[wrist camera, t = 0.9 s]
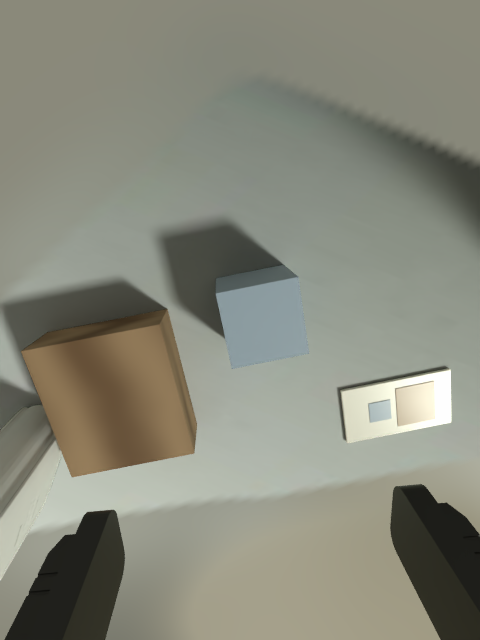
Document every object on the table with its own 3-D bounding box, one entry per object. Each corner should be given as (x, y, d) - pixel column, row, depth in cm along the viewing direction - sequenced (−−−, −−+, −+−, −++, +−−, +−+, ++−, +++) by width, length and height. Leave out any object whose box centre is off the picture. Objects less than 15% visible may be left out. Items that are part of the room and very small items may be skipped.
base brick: (167, 307, 27) (159, 324, 23) (197, 421, 30) (194, 453, 26) (49, 331, 27) (21, 351, 23) (90, 442, 30) (71, 477, 26)
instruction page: (448, 368, 29) (451, 370, 29) (449, 420, 31) (451, 422, 30) (340, 390, 29) (341, 392, 29) (346, 441, 31) (347, 443, 30)
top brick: (283, 264, 26) (298, 276, 21) (293, 328, 27) (309, 353, 23) (215, 278, 26) (215, 293, 21) (229, 341, 27) (231, 369, 23)
